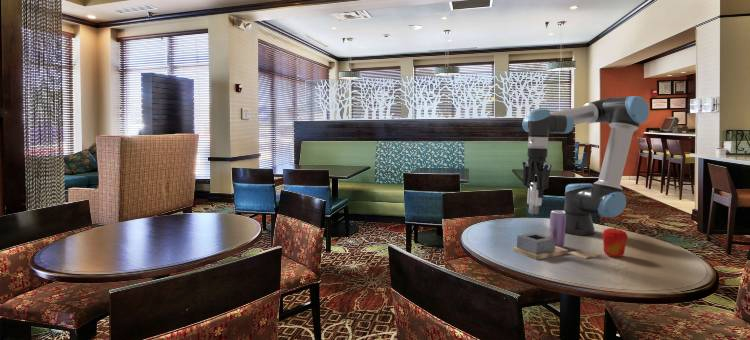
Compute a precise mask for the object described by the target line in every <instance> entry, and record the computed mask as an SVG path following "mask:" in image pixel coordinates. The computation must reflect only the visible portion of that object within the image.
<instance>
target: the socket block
mask: <svg viewBox="0 0 750 340" xmlns="http://www.w3.org/2000/svg"><path fill="white" fill-rule="evenodd" d="M516 240H517V241H516V247H517V248H519V249H522V250H525V251H528V252H530V253H533V254H536V255H537V254H543V253H548V252H553V251H555V239H554V238H551V237H549V236H548V235H544V234H540V233H538V232H533V233H526V234H525V233H523V234H519V235H518V234H517V237H516Z"/></svg>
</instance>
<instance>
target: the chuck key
mask: <svg viewBox="0 0 750 340" xmlns="http://www.w3.org/2000/svg"><path fill="white" fill-rule="evenodd" d="M529 186H530V198H529V204H528V214H531V215H539V211H540V210H539V209H540V206H535V199H536V190H537V189H538V185H537V181H536V182H535V181H534V182H531V183H529Z"/></svg>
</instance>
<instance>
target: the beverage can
mask: <svg viewBox="0 0 750 340" xmlns="http://www.w3.org/2000/svg"><path fill="white" fill-rule="evenodd" d="M565 226H566V212H565V211H564V210H561V209H560V210H559V209H554V210H551V211H550V215H549V233H548V234H549V236H548V237H551V238H554V239H555V246H557V247H560V248H563V249H564V247H565V245H566V244H565V243H566V233H565Z"/></svg>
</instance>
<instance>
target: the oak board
mask: <svg viewBox="0 0 750 340" xmlns="http://www.w3.org/2000/svg"><path fill="white" fill-rule="evenodd" d="M512 251H513V252H515V253H517V254H520V255H524V256H525V257H528V258H531V259H533V260H541V259H545V258H547V259H548V258H552V257H557V256H562V255H567V254H569V252H568V251H569V250H568V249H566V248H564V247H563V248H560V247H557V246H555V251H553V252H548V253H543V254H537V255H536V254H533V253H530V252H528V251H525V250H522V249H519V248H517V246H513V247H512Z"/></svg>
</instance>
